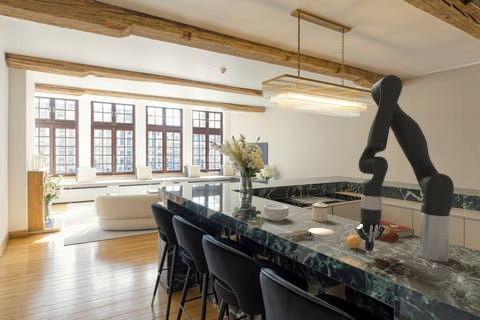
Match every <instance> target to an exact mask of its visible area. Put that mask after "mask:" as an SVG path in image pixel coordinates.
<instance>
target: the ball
mask: <svg viewBox="0 0 480 320" xmlns="http://www.w3.org/2000/svg"><path fill="white" fill-rule="evenodd" d="M346 243H347V246H348V247H349V248H350V249H355V250H356V249H358V248H360V246H361V243H362V241H361V238H360V236H357V235H356V234H355V235H354V234H353V235H349V236H348V237H347V239H346Z"/></svg>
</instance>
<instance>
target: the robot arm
mask: <svg viewBox="0 0 480 320" xmlns="http://www.w3.org/2000/svg"><path fill="white" fill-rule="evenodd" d="M402 91H403V82H402V79H401V78H400V77H399V76H398V75H395V74H388V75H385V76H384V77H382V78H380V79H379V80H378V81H377V82H375V83H374V84H373V85H372V86H371V89H370V94H371V97H372V99H373V101H374V103H375V104H376V106H377V107H378V108H377V111H376V114H375V116H374V118H373V120H372V122H371V125H370V127H369V131H368V137H367V142H366V146H365V148H364V149H363V152H362V153H361V155H360V157H359V159H358V169H359V171H360V172H361V173H362V174H367V175H372V177H371V179H367V180H363V182H362V185H361V186H362V187H361V199H360V212H359V213H360V215H359V217H360V219H361V220H360V222H359V224H360V225H359V226H356V227H355V229H354V230H355V231H356V233H357V234H358V237H359V238H360V240H361V239H362V240H364V241H365V244H364V248H365V250H366V251H368V252H373V250H374V246H375V245H374V244H375V242H376V240H377V241H379V240H378V239H379V238H380V236H381V235H382V233H383V232H384V230H385V227H383V226H381V225H380V224H381V223H380V220H382V212H383V211H382V208H383V201H382V200H383V197H382V192H383V191H382V190H383V188H382V187H383V185H384V180H385V178H386V175H387V173H388V169H389V164H388V160H387V159H386V158H385V157H383V156H377V154H379V153H381V152H383V151H386V149H387V145H388V141H389V140H388V139H389V135H390V130H391V131H392V133H393V136H394V138H395V139H396V142H397V143H398V145H399V147H400V150H401V151H403V152H402V153H403V154H404V156H405V158H406V159H407V161H408V163H409V164H410V166H411V168H412V170H413V173H414V176H415V178H416V181H417V183H418V186H419V188H420V190H421V191H422V192H423V193H424V194H425V196H424V202H423V204H422V205H421V206H420V232H419V234H420V236H419V256H420V257H421V258H424V259H426V260H430V261H433V262H445V263H449V255H450V254H449V251H450V217H451V211H452V208H453V203H454V193H455V192H454V190H455V188H454V182H453V179H452V178H451V177H450V176H449V175H447V174H444V173H440V172H439V171H438V170H437V169H436V166H435V165H434V163H433V162H432V160H431V157H430V153H429V147H428V141H427V139H426V136H425V134H424V132H423V130H422V128H421V127H420V125H419V123H417V121H416V120H415V119H413V118H412V117H411V116H409V114H407V113H406V112H405V111H404V110H403V109H402V108H401V107H400V105H399V103H398V101H399V98H400V96H401V94H402ZM377 234H378V235H377ZM376 235H377V236H376Z"/></svg>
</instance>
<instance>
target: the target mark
mask: <svg viewBox="0 0 480 320" xmlns="http://www.w3.org/2000/svg"><path fill="white" fill-rule="evenodd" d="M308 232H309V233H310V232H311V233H310V234H313V235H317V236H334V235H335V234H336V232H335V231H334V230H332V229H330V228H325V227H312V228H309V229H308Z"/></svg>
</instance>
